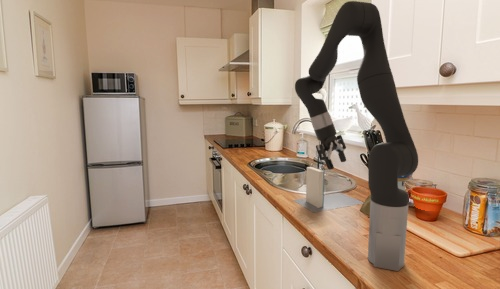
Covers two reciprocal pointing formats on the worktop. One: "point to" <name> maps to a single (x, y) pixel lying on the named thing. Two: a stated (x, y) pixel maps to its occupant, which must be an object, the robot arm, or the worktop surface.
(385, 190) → the robot arm
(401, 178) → the beverage bottle
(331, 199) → the board
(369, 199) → the rock
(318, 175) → the tile
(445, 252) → the worktop surface
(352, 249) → the worktop surface
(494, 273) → the worktop surface
